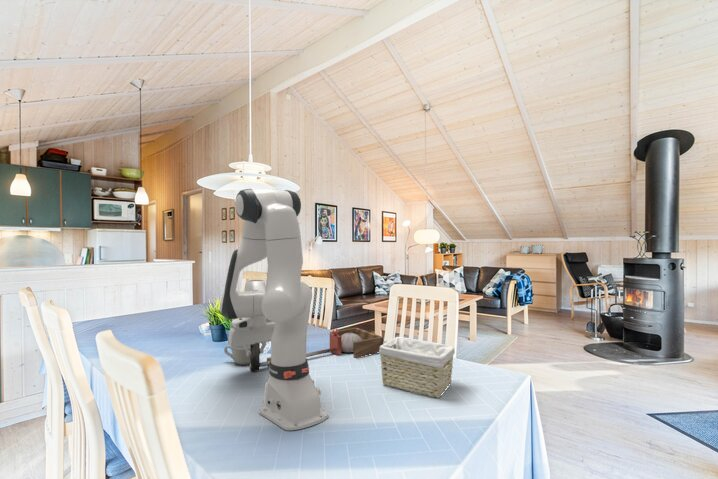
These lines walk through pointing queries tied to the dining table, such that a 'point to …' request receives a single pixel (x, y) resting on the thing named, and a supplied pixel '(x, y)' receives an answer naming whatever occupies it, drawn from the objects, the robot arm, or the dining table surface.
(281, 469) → the dining table surface
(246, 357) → the teacup
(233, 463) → the dining table surface
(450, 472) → the dining table surface
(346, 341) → the sea urchin shell
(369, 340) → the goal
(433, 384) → the storage basket
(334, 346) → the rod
